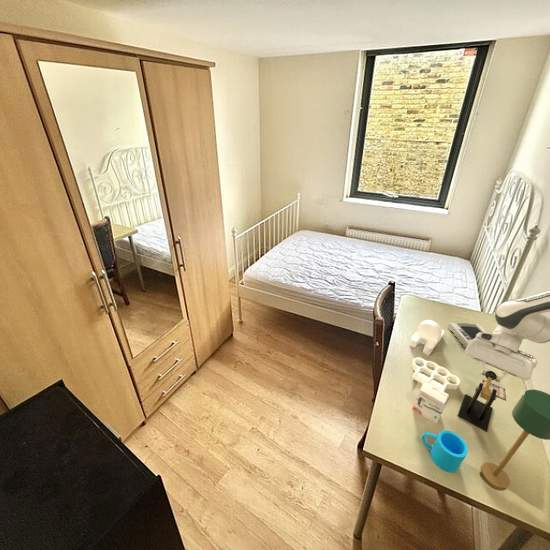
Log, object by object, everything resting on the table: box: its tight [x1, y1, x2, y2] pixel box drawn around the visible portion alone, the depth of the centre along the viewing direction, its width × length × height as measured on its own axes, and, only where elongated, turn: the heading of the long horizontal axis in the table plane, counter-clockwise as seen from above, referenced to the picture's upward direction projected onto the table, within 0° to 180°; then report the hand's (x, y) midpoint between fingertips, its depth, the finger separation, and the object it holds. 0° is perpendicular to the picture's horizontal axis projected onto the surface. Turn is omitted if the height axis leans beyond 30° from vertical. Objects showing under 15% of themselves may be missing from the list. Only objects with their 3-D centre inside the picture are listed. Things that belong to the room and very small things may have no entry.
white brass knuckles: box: [411, 357, 461, 392], centre depth 119 cm, size 3×18×15 cm
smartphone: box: [481, 379, 507, 401], centre depth 117 cm, size 8×15×1 cm, turn 145°
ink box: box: [412, 382, 451, 424], centre depth 102 cm, size 9×5×12 cm, turn 47°
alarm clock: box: [447, 321, 488, 349], centre depth 140 cm, size 17×5×16 cm
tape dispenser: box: [408, 319, 446, 355], centre depth 137 cm, size 10×18×11 cm, turn 135°
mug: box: [420, 430, 469, 473], centre depth 91 cm, size 12×8×8 cm
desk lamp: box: [479, 389, 550, 492], centre depth 79 cm, size 9×9×34 cm
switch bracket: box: [457, 382, 498, 433], centre depth 103 cm, size 12×9×13 cm
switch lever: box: [479, 370, 498, 401], centre depth 104 cm, size 13×3×3 cm, turn 139°
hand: (489, 378), depth 107 cm, fingers closed on switch lever, 3 cm apart
